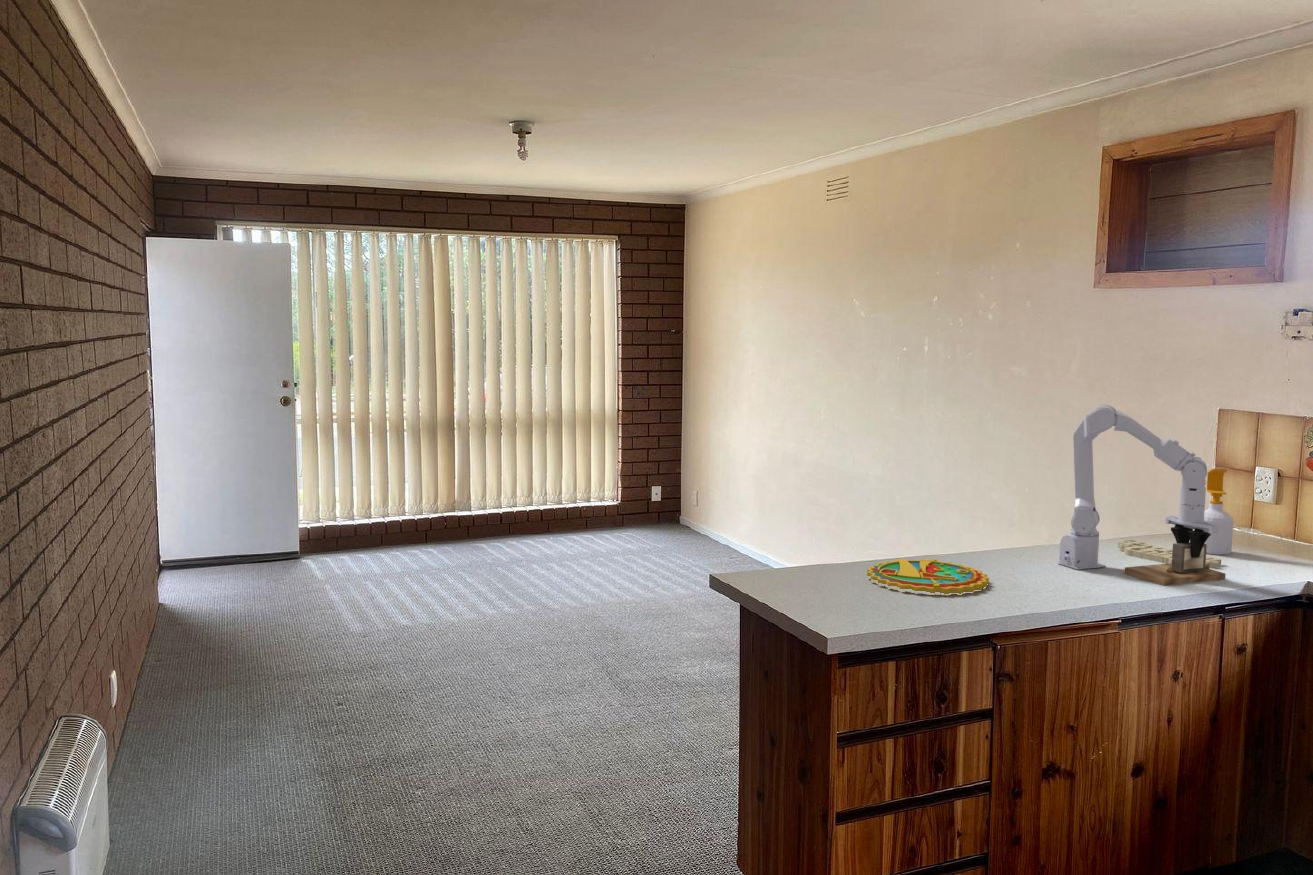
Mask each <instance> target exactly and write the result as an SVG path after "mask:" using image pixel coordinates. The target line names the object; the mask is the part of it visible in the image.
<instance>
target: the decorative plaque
mask: <svg viewBox="0 0 1313 875" xmlns="http://www.w3.org/2000/svg"><path fill="white" fill-rule="evenodd" d="M867 576H871V579H873V580H877V581H878V583H882V584H887V585H888V586H897V587H899V588H900V589H912V590H914V591H926V592H930V593H935V592H940V593H944V594H949V593H959V594H961V593H963V592H973V591H974V590H982V591H983V589H982V588H984V587H987V588H988V586H987V584H990V582H989V581H990V578H989V577H988V575H987V573H984V572H983V570H979V569H975V567H971V566H965V565H964V564H957V563H953V562H947V561H946V562H945V561H939V560H938V559H929V558H928V559H927V558H922V559H918V560H916V559H915V560H914V559H905V558H897V559H896V560H893V561H887V560H885V561H884V562H878V563H877V562H876V563H875V565H870V566H869V568H867V569H866V577H867Z"/></svg>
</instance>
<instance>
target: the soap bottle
mask: <svg viewBox="0 0 1313 875" xmlns="http://www.w3.org/2000/svg"><path fill="white" fill-rule="evenodd" d="M1207 472H1208V473H1207V476H1206V493H1207V492H1208V493H1209V494H1211V495H1210V496H1211V497H1212V500H1209V505H1208V509H1206V510H1205V511H1204V520H1205V521H1206V522H1207V523H1210V524H1212V525H1216V526H1218V533H1217V534H1211V535H1210V536H1209V537H1208V539H1207V540H1206V542H1205V544H1207V548H1206V555H1212V556H1213V555H1215V556H1227V555H1230V554H1231V553H1232V549H1233V547H1232V546H1233V535H1234V534H1233V532H1234V531H1233V530H1234V519H1233V516H1231V515H1230V513H1228V512H1227V511H1225V510H1224V508H1223V506H1224V504H1223V503H1224V502H1223V501H1221V500H1220V499H1221V498H1222V497H1223V495H1227V492H1225V491H1224V489H1223V487H1224V476H1225V475H1224V474H1225V473H1227V472H1228V469H1225V468H1211V469H1209V470H1207Z"/></svg>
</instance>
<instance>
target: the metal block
mask: <svg viewBox="0 0 1313 875" xmlns="http://www.w3.org/2000/svg"><path fill="white" fill-rule="evenodd" d="M1206 548H1207V544H1204V546H1203V548H1202V550H1201V553H1200V556H1199V557H1197V558H1192V557H1191V553H1190V549H1191V545H1190V541H1189V542H1188V543H1177V542H1176V543H1173V544H1172V549H1173V552H1172V570H1173V571H1177V572H1180V573H1183V572H1194V571H1205V563H1206V556H1207V554H1206Z"/></svg>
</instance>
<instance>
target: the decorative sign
mask: <svg viewBox="0 0 1313 875" xmlns="http://www.w3.org/2000/svg"><path fill="white" fill-rule="evenodd" d="M1117 548H1118V549H1119V550H1118V551H1119V552H1123V554H1124V555H1125V556H1129V557H1134V558H1138V559H1143V560H1147V561H1152V562H1156V563H1160V564H1168V563H1172V552H1173V548H1170V549H1169V548H1167V547H1162V546H1158V545H1153V544H1152V543H1150V542H1147V541H1142V540H1141V541H1140V540H1135V539H1123V540H1122V542H1120V541H1118V543H1117ZM1206 563H1209V564H1210V568H1209V569H1213V570H1214V569H1215V570H1216V569H1219V566H1218V565H1221V566H1222V559H1221V558H1220V557H1219V558H1218V557H1213V556H1210V555H1209V556H1207V555H1206Z"/></svg>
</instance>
